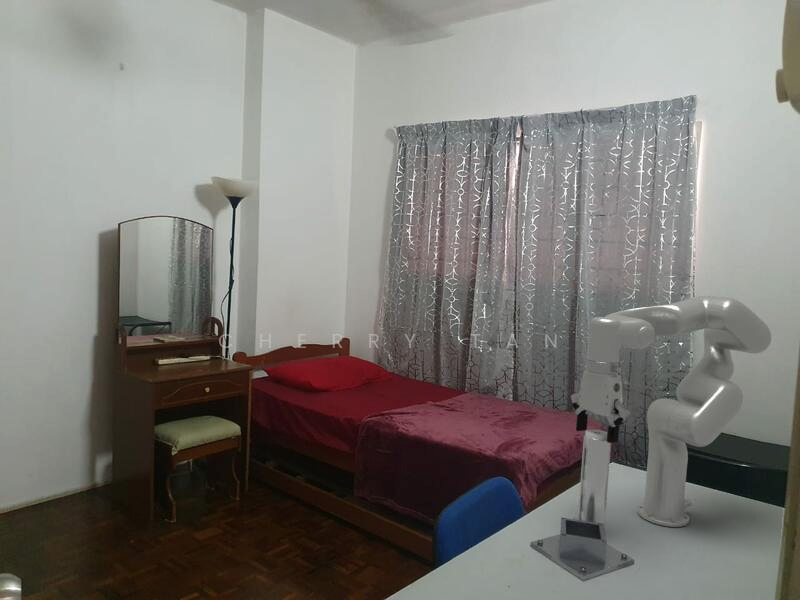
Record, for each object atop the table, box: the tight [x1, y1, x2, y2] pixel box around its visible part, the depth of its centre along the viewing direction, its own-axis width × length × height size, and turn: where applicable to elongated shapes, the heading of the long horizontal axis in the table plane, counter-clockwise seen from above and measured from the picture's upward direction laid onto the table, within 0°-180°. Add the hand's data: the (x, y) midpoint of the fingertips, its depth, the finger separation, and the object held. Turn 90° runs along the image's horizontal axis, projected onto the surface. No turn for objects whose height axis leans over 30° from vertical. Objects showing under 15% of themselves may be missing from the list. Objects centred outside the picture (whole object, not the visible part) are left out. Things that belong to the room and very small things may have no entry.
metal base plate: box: [530, 517, 635, 582], centre depth 133 cm, size 16×16×6 cm
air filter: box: [577, 428, 612, 530], centre depth 146 cm, size 6×6×25 cm
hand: (596, 436), depth 144 cm, fingers open, 9 cm apart
